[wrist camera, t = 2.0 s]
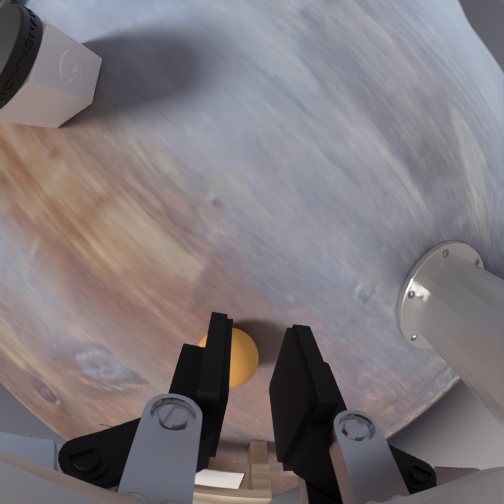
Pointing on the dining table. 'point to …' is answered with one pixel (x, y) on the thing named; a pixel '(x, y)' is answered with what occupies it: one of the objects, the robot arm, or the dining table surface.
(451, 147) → the dining table surface
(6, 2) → the pie
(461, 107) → the dining table surface
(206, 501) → the bridge
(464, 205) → the dining table surface
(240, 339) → the ball
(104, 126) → the dining table surface
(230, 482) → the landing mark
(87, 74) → the jar
